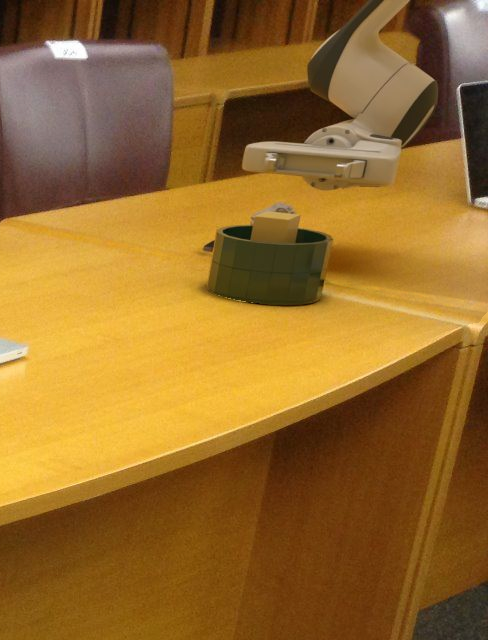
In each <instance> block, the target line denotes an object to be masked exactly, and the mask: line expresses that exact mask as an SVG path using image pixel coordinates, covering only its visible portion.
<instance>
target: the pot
mask: <svg viewBox="0 0 488 640" xmlns="http://www.w3.org/2000/svg"><path fill="white" fill-rule="evenodd" d="M252 229H253V225H250V224H238V225H237V224H235V225H227V226H222V227H220V228H217V229H216V230H215V237H214V240H215V242H214V247H213V252H211V260H210V265H209V270H208V275H207V276H208V277H207V281H206V290H207V289H208V290H209V291H210V292H209V291H208V290H207V291H208V292H209V293H211V292H212V293H211V294H213V293H214V294H213V295H215V294H217V295H220V296H223V297H227V298H231V299H235V300H241V301H246V302H253V303H259V304H258V305H263V304H267V305H266V306H301V305H307V304H308V305H309V304H313V303H316V302H318V301H319V300H321V296H323V290H324V285H325V281H326V276H327V272H328V267H329V261H330V256H331V252H332V247H333V243H334V237H333V236H332V235H330V234H328V233H326V232H323V231H318V230H315V229H310V228H302V227H298V231H297V236H296V241H295V244H294V243H271V242H259V241H252V240H250V239H251V234H252ZM217 295H216V296H217ZM220 296H219V297H220ZM223 297H222V298H223Z"/></svg>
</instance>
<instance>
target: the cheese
mask: <svg viewBox="0 0 488 640" xmlns="http://www.w3.org/2000/svg"><path fill="white" fill-rule="evenodd" d="M301 216H302V215H301V214H300V213H299V214H298V213H297V214H289V213H280V212H270V211H266V212H264V213H261V214H259V215H256V216H255V218H254V223H253V229H252V234H251V239H250V240H252V241H259V242H271V243H294V244H295V241H296V236H297V231H298V228H299V226H300V221H301Z"/></svg>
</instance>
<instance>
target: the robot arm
mask: <svg viewBox="0 0 488 640" xmlns="http://www.w3.org/2000/svg"><path fill="white" fill-rule="evenodd" d="M410 1H411V0H368V1H366V3H365V4H364V5H363V6H362V7H361V8H359V10H358V11H357V12H356V13H355V14H354V15H353V16H352V17H351V18H350V19H349V20H348V21H347V22H346V23H345V24H344V25H343V26H341V28H339V29H338V30H337V31H336V32H334V33H333V34H332V35H330V36H329V37H328V38H327V39H325V41H323V43H321V45H319V47H318V48H317V49H316V50H315V52H314V53H313V54H312V56H311V57H310V60H309V61H308V63H307V67H306V71H307V72H306V74H307V82H308V86H309V90H310V92H311V93H313V94H315V95H317V96H318V97H319V98H321V99H324V100H326V101H327V102H329V103H332V104H333V105H335V106H336V107H338V108H339V109H340V110H342V111H343V112H345V113H346V115H348V116H350V117H352V119H348V120H343V121H341V122H338V123H335V124H332V125H328V126H325V127H322V128H320V129H318V130H316V131H314V132H313V133H312V134H310V136H308V137H307V139H306V140H305V141H304V142H303V143H300V142H299V143H298V142H286V141H259V142H253V143H248V144H246V146H245V148H244V151H243V152H244V153H243V157H242V161H241V168H242V170H243V171H246V172H249V173H262V174H272V175H281V176H293V177H301V178H302V180H304V182H305V183H306V184H307V185H308V186H310V187H311V188H314V189H316V190H319V191H334V190H338V189H342V190H343V189H349V188H357V187H360V188H362V187H363V188H365V187H369V188H388V187H391V186H392V185H393V184H394V183H395V181H396V177H397V174H398V169H399V165H400V160H401V155H402V150H403V149H404V148H406V147H407V146H408V145H409V144H410V143H411V142H412V141H413V140H414V139H415V138H416V137H417V136H418V135H419V134H420V133H421V131H422V130H423V129H424V128H425V126H426V125H427V124H428V123H429V121H430V120H431V119H432V117H433V115H434V113H435V111H436V109H437V106H438V98H439V85H438V81H437V80H436V79H434V78H433V77H432V76H430V74H428V73H426V72H425V71H424V70H422V69H421V68H419V67H418V66H417V65H415V64H414V63H412V62H410V61H409V60H407V59H405V58H404V57H403V56H402V55H400V54H399V53H397V52H396V51H395V50H393V49H391V48H390V47H388V46H387V45H386V44H385V43H383V41H382V40H381V39H380V35H379V33H380V31H381V30H382V29H383V28H384V27H385V26H386V25H387V24H388V23H389V22H390V21H391V20H392V19H393V18H394V17H395V16H396V15H397V14H398V13H399V12H400V11H401V10H402V9H403V8H404V7H405V6H406V5H407V4H408V3H409V2H410Z"/></svg>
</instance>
